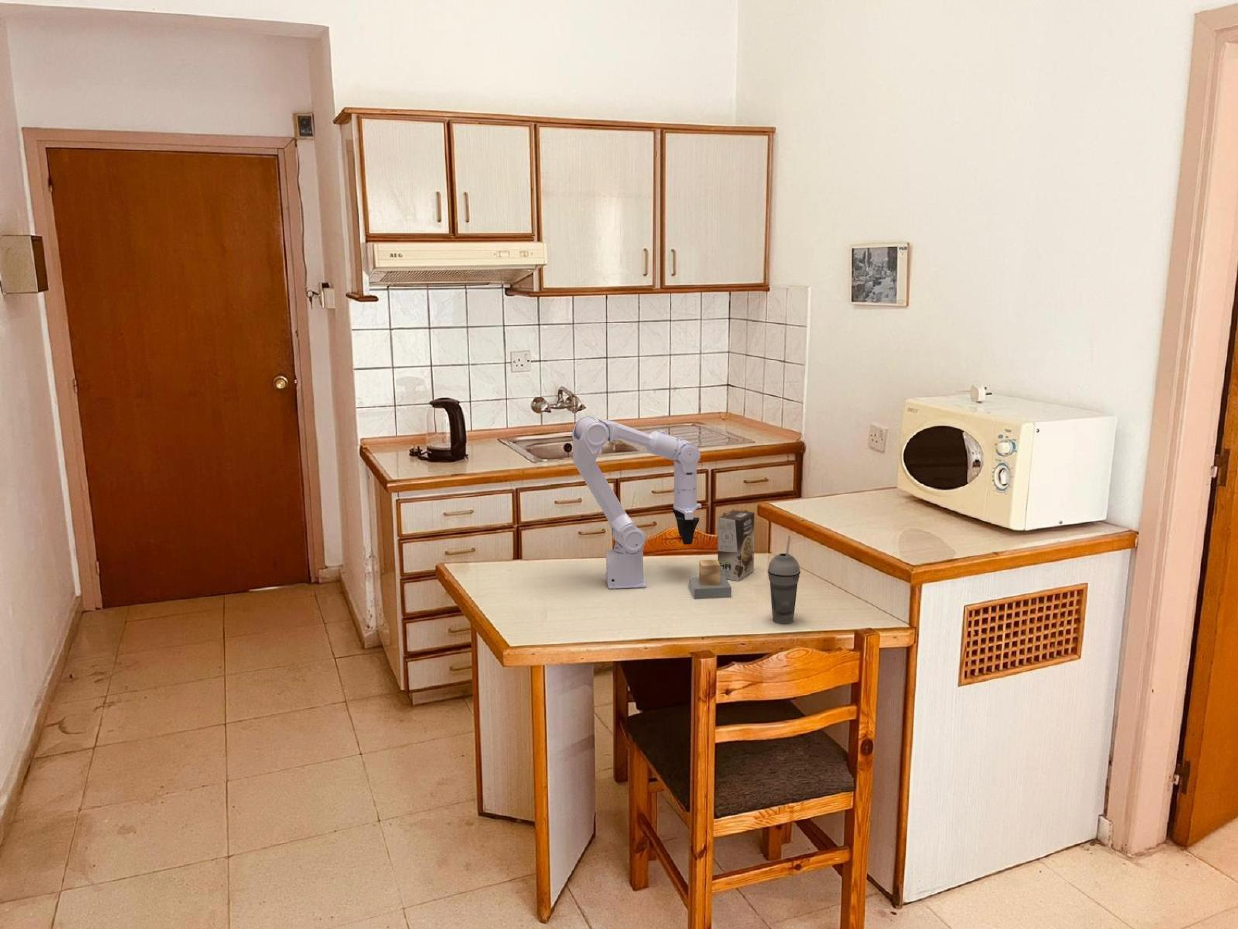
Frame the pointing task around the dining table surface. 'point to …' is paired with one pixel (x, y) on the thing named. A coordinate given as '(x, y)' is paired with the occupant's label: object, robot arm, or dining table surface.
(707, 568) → the oak block
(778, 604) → the beverage cup
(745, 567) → the coffee box
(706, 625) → the dining table surface
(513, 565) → the dining table surface
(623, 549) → the robot arm
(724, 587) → the slate base
